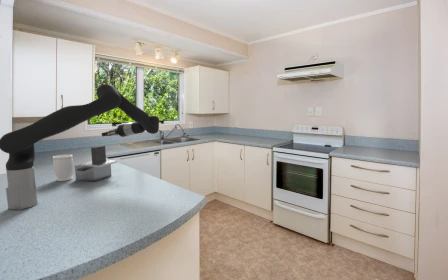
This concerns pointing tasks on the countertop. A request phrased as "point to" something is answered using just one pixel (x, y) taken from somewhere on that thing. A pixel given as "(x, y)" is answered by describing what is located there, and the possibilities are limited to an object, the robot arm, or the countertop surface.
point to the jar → (63, 167)
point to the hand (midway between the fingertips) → (102, 134)
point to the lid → (98, 157)
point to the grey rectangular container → (92, 173)
